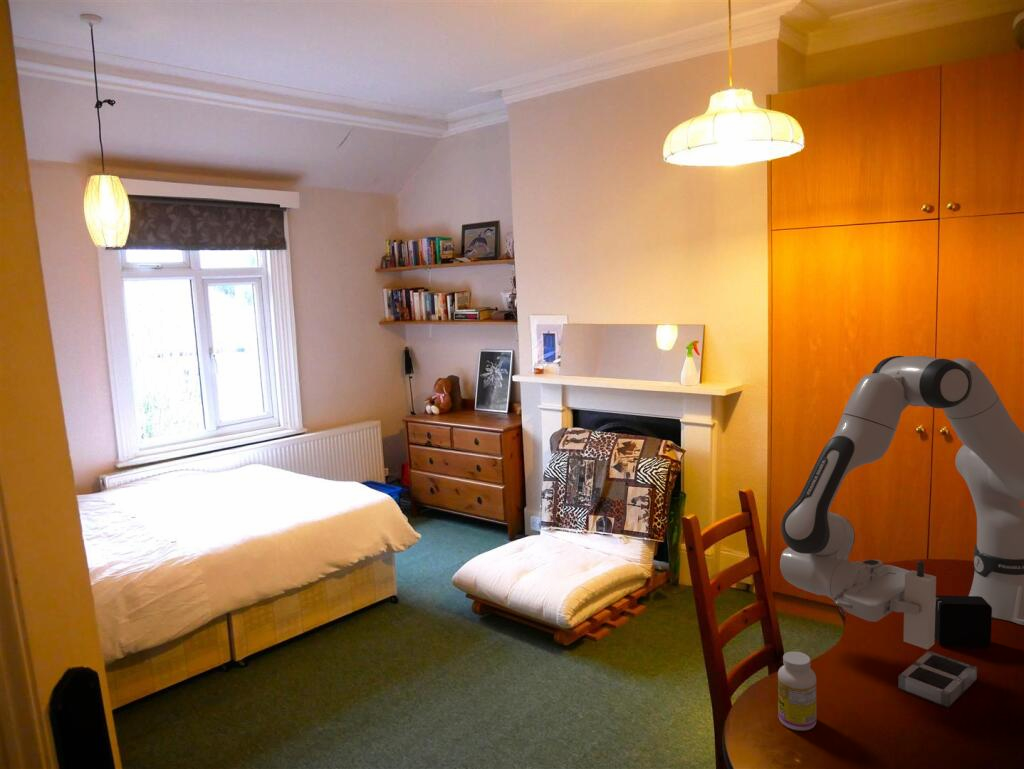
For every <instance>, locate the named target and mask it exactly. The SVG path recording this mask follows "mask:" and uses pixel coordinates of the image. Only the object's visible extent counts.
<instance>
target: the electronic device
mask: <svg viewBox="0 0 1024 769" xmlns="http://www.w3.org/2000/svg"><path fill="white" fill-rule="evenodd" d="M992 619H993V617H992V607H991V606H990V605H989V604H988V603H987V602H986V601H985V600H984V599H983V598H982V597H980V596H969V595H946V594H945V595H939V594H938V595H936V604H935V640H936V642H937V643H938V644H939V645H940V646H941V647H942V646H944V647H943V648H958V647H962V649H963V648H964V649H985V650H986V649H988V648H990V647H991V642H992V641H991V640H992ZM945 646H946V647H945Z"/></svg>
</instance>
